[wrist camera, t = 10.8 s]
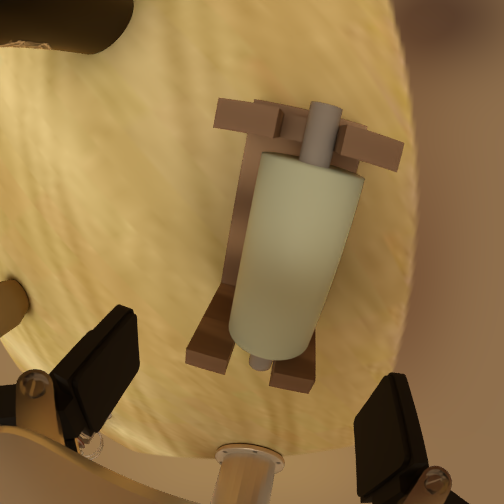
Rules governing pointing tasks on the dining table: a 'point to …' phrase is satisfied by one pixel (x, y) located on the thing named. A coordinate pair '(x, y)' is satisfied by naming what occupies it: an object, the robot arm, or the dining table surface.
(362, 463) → the robot arm
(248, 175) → the holder
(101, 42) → the water bottle
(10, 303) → the squeeze bottle
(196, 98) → the dining table surface
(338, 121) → the roll
